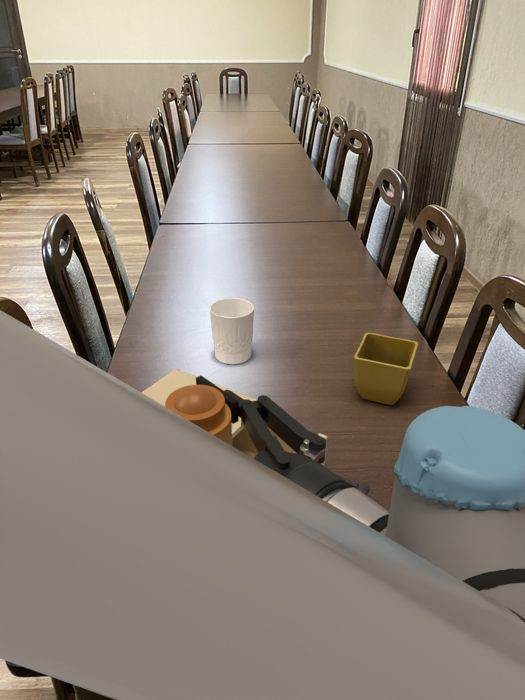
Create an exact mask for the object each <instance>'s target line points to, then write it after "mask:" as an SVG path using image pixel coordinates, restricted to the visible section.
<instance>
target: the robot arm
mask: <svg viewBox="0 0 525 700" xmlns="http://www.w3.org/2000/svg"><path fill="white" fill-rule="evenodd" d="M213 383H214V382H212V381H210V380H209V379H208V378H207V377H204V376H203V375H198V376H197V377H196V385H207V386H211V387H214V388H216V389H217V390H219V391H220V392H221V393H222V394H223V396H224V398H225V403H226V404H227V405H228V407H229V408H230V411H231V421H232V423H233V424H234V423H236V422H238V421H239V417H240V418H241V427H242V425H243V426H244V428H245V429H246V431H247V433H248V435H249V437H250V438H251V440H252V442H253V444H254V446H255V447H256V449H257V451H258V454H257V455H256V456H255V457H254V458H251V457H250V456H248V455H246V454H245V453H243V452H241V451H240V450H238V449H236V448H234V447H233V446H231V445H229V444H228V443H226V442H224V441H222V440H221V439H219V438H217V437H216V436H214V435H212V434H211V433H209V432H207V431H205V430H204V429H202V428H200V427H199V426H197V425H195V424H194V423H192V422H190V421H188V420H187V419H185V418H183V417H182V416H180V415H178V414H177V413H175V412H173V411H171V410H170V409H168V408H166V407H165V406H163V405H161V404H159V403H158V402H156V401H154V400H153V399H151V398H149V397H148V396H146V395H144V394H142V392H140V391H139V390H137V389H136V388H134V387H133V386H130V385H129V384H127V383H126V382H124V381H122V380H120V379H118V378H117V377H115V376H114V375H112V374H110V373H109V372H107V371H105V370H104V369H102V368H100V367H98V366H96V365H95V364H93V363H92V362H90V361H87V360H86V359H84V358H83V357H81V356H79V355H78V354H76V353H74V352H73V351H71V350H69V349H67V348H66V347H64V346H62V345H61V344H59V343H57V342H56V341H54V340H52V339H50V338H49V337H47V336H46V335H44V334H43V333H40V332H39V331H37V330H35V329H33V328H31V326H28V325H27V324H25V323H23V322H22V321H20V320H18V319H16V317H15V318H14V317H13V316H11V315H9V314H8V313H6V312H4V311H3V310H1V309H0V660H4V661H6V662H8V663H12V664H15V665H17V666H20V667H23V668H25V669H29V670H31V671H34V672H36V673H40V674H42V675H45V676H48V677H51V678H54V679H57V680H59V681H62V682H65V683H67V684H69V685H70V684H71V685H73V686H76V687H78V688H82V689H84V690H87V691H90V692H92V693H96V694H98V695H101V696H104V697H107V698H109V699H112V700H525V429H524V428H522V426H520V425H518V424H517V423H516V422H514V421H512V420H511V419H509V418H507V417H506V416H504V415H501V414H499V413H497V412H495V411H491V410H488V409H484V408H481V407H478V406H472V405H463V406H455V405H454V406H452V405H443V406H437V407H433V408H431V409H428V410H426V411H424V412H422V413H421V414H419V415H418V416H416V418H415V419H413V420H412V421H411V422H410V424H409V425H408V427H407V428H406V431H405V434H404V438H403V441H402V445H401V448H400V451H399V456H398V459H397V460H396V461H395V464H394V467H393V474H394V480H393V485H392V487H393V488H392V493H391V499H390V505H389V510H388V509H386V508H385V507H383V505H381V504H379V503H378V502H376V501H375V500H373V499H372V498H371V497H370V496H368V494H367V495H365V494H364V493H362V492H361V491H360V490H358V489H356V488H354V487H352V488H350V486H349V484H348V483H347V482H346V481H345V480H343V479H342V478H340V477H339V476H340V475H339V476H337V475H338V474H337V473H335V472H333V471H332V470H331V469H329V468H328V467H326V465H325V466H323V465H322V464H321V463H323V462H324V461H325V462H326V459H325V450H326V451H327V447H326V439H325V438H323V437H321V436H319V435H318V434H317V433H315V432H312V431H310V430H308V429H307V428H306V427H305V426H303V425H302V424H301V423H300V422H299V421H297V419H295V418H294V417H293V416H292V415H291V414H289V413H288V412H287V411H285V409H283V408H282V407H281V406H279V404H277V403H276V401H274V400H272V399H271V398H270V397H269V396H268V395H265V394H261V395H259V396H258V397H257V399H256V401H251V400H248V399H245V400H244V399H242V398H241V397H240V396H238V395H236V394H235V393H234V392H232V391H230V390H231V389H230V390H225V391H223V390H222V389H220V388H219V387H217V386H216V385H214V384H213ZM268 428H270V429H271V430H272V431H273V432H274V433H275V434H276V435H277V436H278V437H279V438H281V439H282V440H283V441H284V442H285V443H286V444H287V445H288V446H289V447H290V448H292V449H293V450H294V451H295V452H296V453H290V452H286V451H284V449H283V447H282V446H281V444H280V443H279V441H278V439H277V438H276V436H273V435H272V434H271V432H270V431H269V429H268ZM336 474H337V475H336Z"/></svg>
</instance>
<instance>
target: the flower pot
mask: <svg viewBox="0 0 525 700" xmlns="http://www.w3.org/2000/svg"><path fill="white" fill-rule="evenodd" d="M418 346H419V342H418V341H416V340H412V339H406V338H400V337H395V336H389V335H383V334H379V333H374V332H365V333H364V335H363V338H362V340H361V342H360V345H359V346H358V349H357V350H356V352H355V354H354V356H353V372H354V373H353V374H354V376H353V377H354V378H353V379H354V384H355V389H356V390H357V393H358V394H359V396H360V397H361V398H362V399H363V400H367V401H371V402H375V403H379V404H383V405H388V406H393V405H395V404H396V403H397V402H398V401H399V400H400V399H401V398H402V396H403V394H404V393H405V390H406V386H407V383H408V380H409V376H410V374H411V370H412V366H413V363H414V360H415V357H416V354H417V350H418Z"/></svg>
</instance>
